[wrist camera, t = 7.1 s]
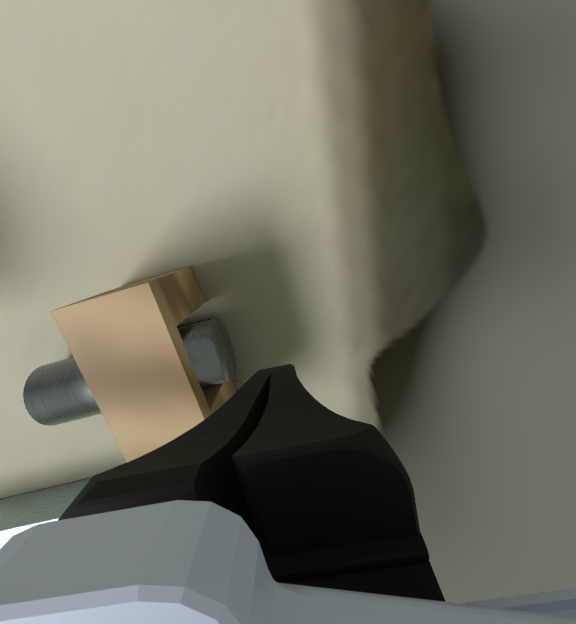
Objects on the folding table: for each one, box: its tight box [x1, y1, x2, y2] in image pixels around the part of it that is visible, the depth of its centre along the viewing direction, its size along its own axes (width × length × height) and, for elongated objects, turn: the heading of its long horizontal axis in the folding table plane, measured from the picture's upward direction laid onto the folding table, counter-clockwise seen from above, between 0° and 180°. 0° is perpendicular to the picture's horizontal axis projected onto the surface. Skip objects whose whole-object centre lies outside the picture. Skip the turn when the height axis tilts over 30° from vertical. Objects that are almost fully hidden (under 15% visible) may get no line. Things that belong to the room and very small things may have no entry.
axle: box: [23, 318, 235, 425], centre depth 20 cm, size 4×12×4 cm, turn 105°
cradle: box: [0, 478, 91, 549], centre depth 24 cm, size 9×14×4 cm, turn 106°
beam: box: [50, 266, 237, 462], centre depth 18 cm, size 10×5×6 cm, turn 16°
